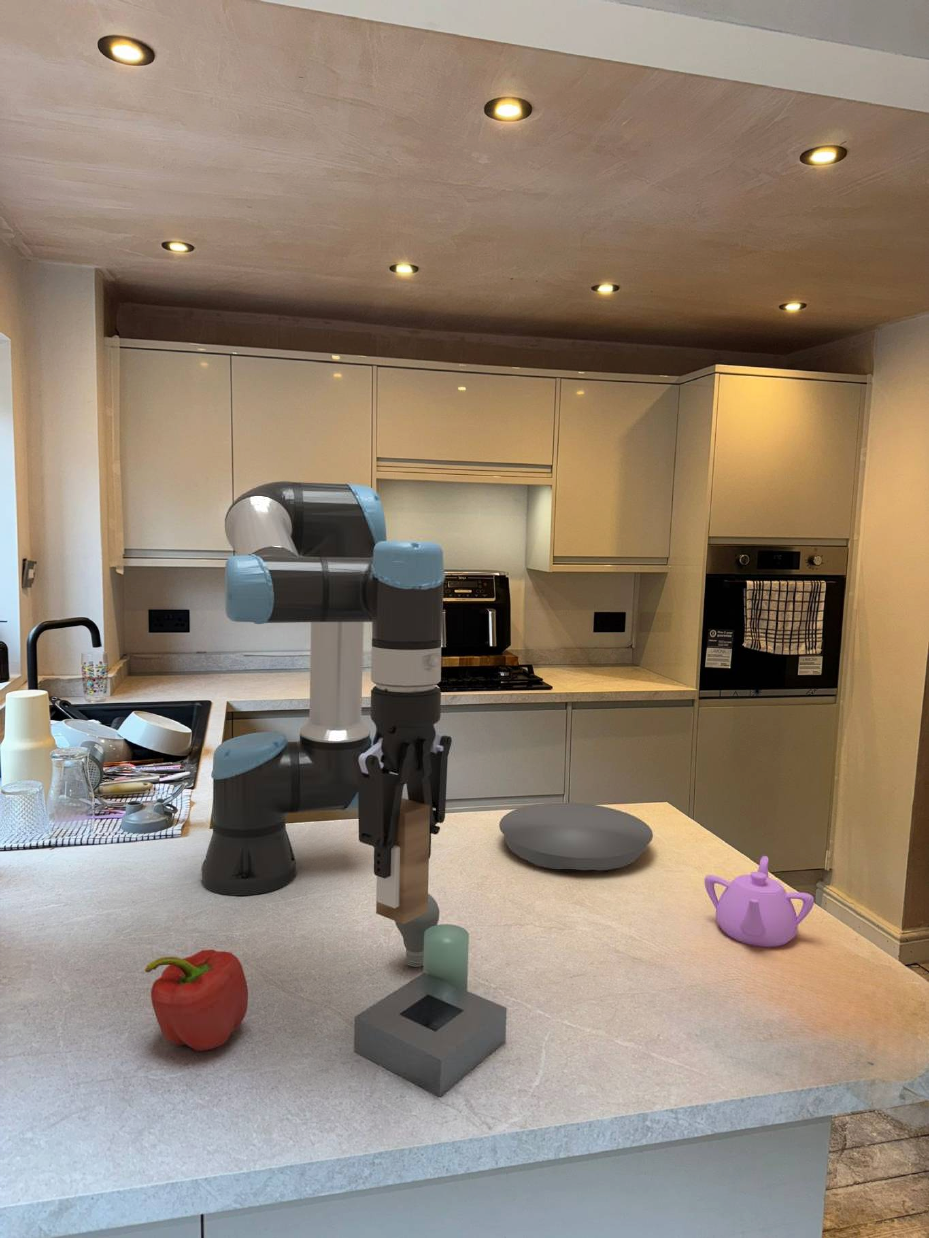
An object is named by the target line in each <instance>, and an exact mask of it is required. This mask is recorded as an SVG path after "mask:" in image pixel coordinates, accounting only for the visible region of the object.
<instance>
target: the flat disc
mask: <svg viewBox="0 0 929 1238" xmlns="http://www.w3.org/2000/svg"><path fill="white" fill-rule="evenodd" d="M499 831H500V832H501V833H502V835H503V837H504V840H505V842H506V845H507V846H508V847H509V849H510V850H511V851H512V853H513V854H515V855H516V856H518V857H519V858H520V859H523V860H527V861H528V862H529V863H532V864H533V865H535V866H537V867H538V866H539V867H544V868H547V869H554V870H565V869H566V870H570V869H572V870H580V871H589V870H592V871H595V870H596V871H598V872H599V871H609V870H613V869H621V868H623V867H626V866H628V865H629V864H633V863H634V862H635V861H636V860H637V859H638V858H640V856H641V854H642V853H644V852H646V849H647V848H648V847H647V846H648V845H649V844H651V842H652V840H653V837H654V833H653V830H652V829H651V827H650V826H649V824H648V823H646V822H645V821H643V820H642V819H641V818H639V817H636V816H635V815H632V814H630V813H628V812H625V811H622V810H619V809H615V808H612V807H606V806H603V805H597V804H590V803H579V802H546V803H545V802H544V803H537V804H530V805H526V806H523V807H519V808H516V809H513V810H512V811H510V812H507V813H506V814H505V815H504V816H502V818H501V819H500V821H499Z"/></svg>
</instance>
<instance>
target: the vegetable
mask: <svg viewBox="0 0 929 1238" xmlns="http://www.w3.org/2000/svg"><path fill="white" fill-rule="evenodd" d="M160 966H166V967H165V969H164V970H163V971H162V972H161V975H160V977H158V978H156V979H155V981H154V982H153V983H152V987H151V990H150V997H151V1006H152V1008H153V1012H154V1015H155V1018H156V1021H157V1023H158V1025H159V1028H160V1030H161V1033H162V1034H163V1036H164V1037H165V1038H166V1039H167V1040H168V1041H169V1042H171V1043H173V1044H175V1045H179V1046H182V1045H187V1046H188V1047H191V1049H194V1050H195V1051H197V1052H198V1051H200V1052H201V1051H203V1052H204V1051H208V1050H211V1049H215V1048H217V1047H220V1046H222V1045H224V1044H225V1043H226V1042H227V1041H228V1040H229V1038H230V1036H231V1034H232V1032H233V1031H234V1030H236V1029H237V1028H239V1027H240V1026H241V1024H242V1022H243V1020H244V1018H245V1016H246V1014H247V1011H248V1010H247V1009H248V1004H249V1001H248V999H249V992H248V983H247V979H246V976H245V972H244V969H243V966H242V964H241V962H240V960H239V958H238V957H237V956H236V955H235V954H234V953H232V952H229V951H225V950H224V951H222V950H220V951H219V950H215V949H202V950H200V951H198V952H197V953H195V954H192V955H191V956H187V957H185V958H181V957H176V956H168V957H167V956H164V957H160V958H157V959H154V960H153V961H151V962H150V963H149V964H148V965H147V966H146V967H145V969H144V971H145V972H146V973H150V972H152V971H156V970H157V968H159V967H160Z"/></svg>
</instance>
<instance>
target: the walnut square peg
mask: <svg viewBox="0 0 929 1238" xmlns="http://www.w3.org/2000/svg"><path fill="white" fill-rule="evenodd" d="M429 829H430V805H426V804H423V803H419V802H415V801H412V800H408V798H405V797H402V800H401V806H400V813H399V820H398V826H397V833H396V840H395V845H396V846H399V847H400V890H399V907H396V908H392V907H390V906H387V905H385V904H382V903H379V902H377V901H376V900H375V902H376V904H375V908H376V909H375V913H376V915H379V916H381V917H384V918H386V919H389V920H391V921H394V922H395V921H396V922H399V923H401V924H405V923H407V922H409V921H411V920H413V919H415V918H417V917H419V916H421V915H423V914H425V913H426V912H428V894H429V875H430V873H429V867H430V866H429V865H430V864H429V863H430V859H429ZM383 835H385V834H384V833H383Z"/></svg>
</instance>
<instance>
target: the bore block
mask: <svg viewBox="0 0 929 1238" xmlns="http://www.w3.org/2000/svg"><path fill="white" fill-rule="evenodd" d="M507 1009H508V1008H507V1007H506V1006H503V1005H501V1004H499V1003H497V1002H495V1001H492V1000H489V999H487V998H485V997H483V996H480V995H478V994H475V993H473V992H470V991H469V990H467V991H466V990H464V989H461V988H459V987H457V986H454V985H452V984H450V983H447V982H445V981H443V980H440V979H438V978H436V977H433V976H431V975H429V974H426V973H423V972H422V973H421V974H419V975H417V976H416V977H415V978H413V979H412V980H409V982H407V983H406V984H403V985H402V986H401V987H399V988H398V989H396V990H394V991H393V992H391V993H390V994H388V995H387V996H385V997H383V998H382V999H381V1000H379V1001H377V1002H376V1003H374V1004H372V1005H371V1006H369V1007H367V1008H366V1009H365V1010H363V1011H361V1012H360V1013H359V1014H357V1015H355V1016H354V1027H353V1028H354V1029H353V1030H354V1032H353V1033H354V1034H353V1035H354V1036H353V1038H354V1039H353V1042H354V1043H353V1052H354V1053H356V1054H358V1055H360V1056H362V1057H363V1058H366V1059H368V1060H369V1061H371V1062H373V1063H374V1064H377V1065H378V1066H380V1067H382V1068H384V1069H386V1070H388V1071H390V1072H392V1073H394V1074H395V1075H397V1076H399V1077H401V1078H403V1079H405V1080H407V1081H408V1082H410V1083H413V1084H414V1085H416V1086H418V1087H420V1088H422V1089H424V1090H425V1091H427V1092H430V1093H431V1094H433V1095H435V1096H437V1097H439V1098H441V1097H442V1096H443V1095H444V1094H446V1093H447V1092H448V1091H449V1090H450V1089H452V1087H453V1088H454V1086H455V1085H456V1084H458V1083H459V1082H460V1081H461V1080H462V1079H464V1077H465V1076H467V1075H468V1074H469V1073H470V1072H471V1071H473V1070H474V1069H476V1067H478V1066H479V1064H481V1063H482V1062H484V1061H485V1060H486V1059H487V1058H488V1057H489V1056H490V1055H492V1053H494V1052H495V1051H496V1050H497V1049H498V1048H499V1047H501V1046H502V1045H504V1043H505V1042H506V1041H507V1037H506V1036H507Z"/></svg>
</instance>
